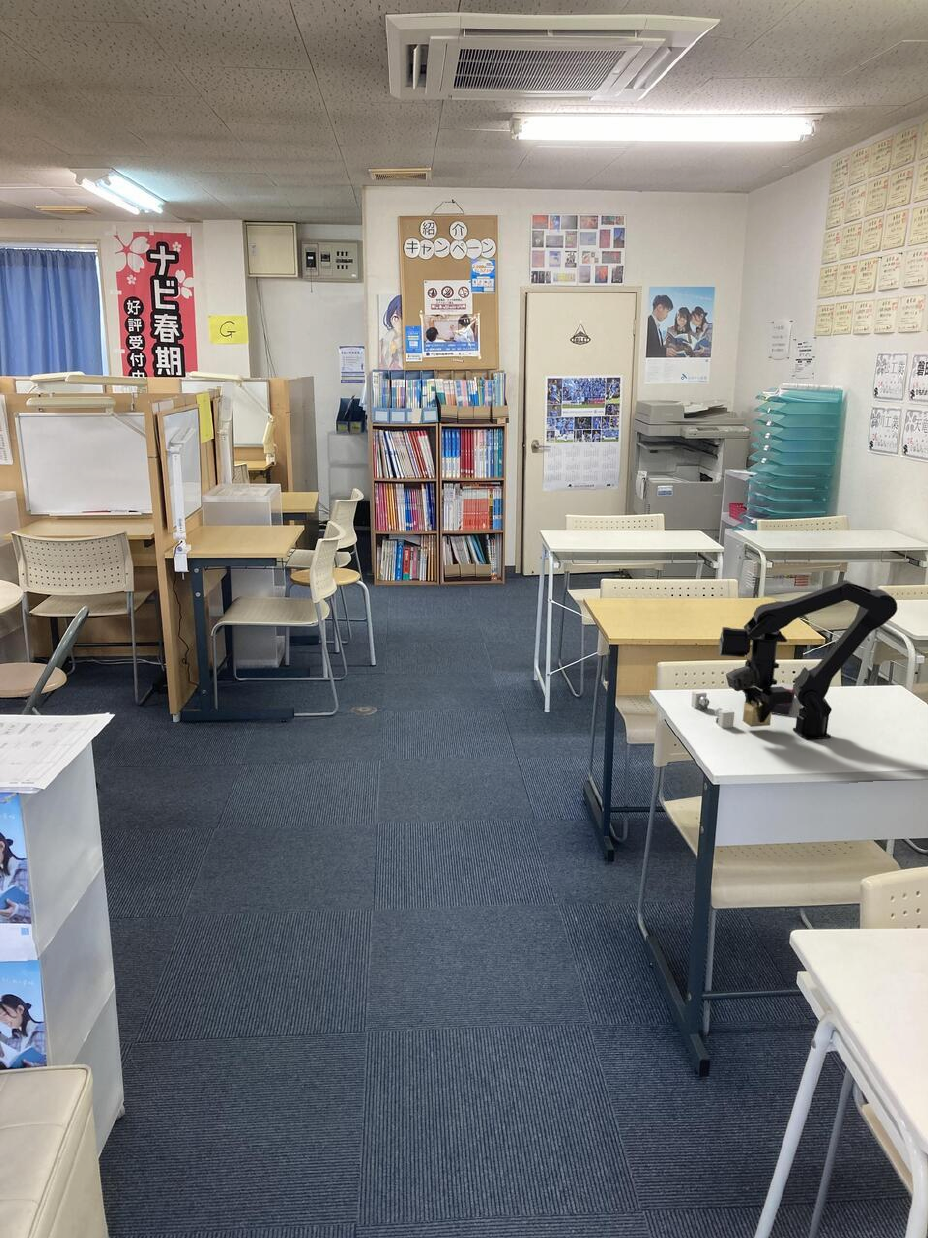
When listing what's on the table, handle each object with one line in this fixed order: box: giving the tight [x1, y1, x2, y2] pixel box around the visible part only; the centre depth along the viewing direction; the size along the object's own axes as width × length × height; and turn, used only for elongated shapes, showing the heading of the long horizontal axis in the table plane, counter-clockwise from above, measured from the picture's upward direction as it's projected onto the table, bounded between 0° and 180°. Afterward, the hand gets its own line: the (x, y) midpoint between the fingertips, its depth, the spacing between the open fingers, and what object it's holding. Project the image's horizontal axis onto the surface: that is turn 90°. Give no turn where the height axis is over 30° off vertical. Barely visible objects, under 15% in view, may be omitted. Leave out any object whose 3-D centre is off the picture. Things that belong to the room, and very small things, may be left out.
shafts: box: [697, 696, 724, 724], centre depth 233 cm, size 2×12×3 cm, turn 14°
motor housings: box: [691, 690, 735, 729], centre depth 233 cm, size 3×16×4 cm, turn 14°
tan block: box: [742, 700, 772, 728], centre depth 224 cm, size 4×5×6 cm
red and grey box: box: [744, 682, 796, 716], centre depth 244 cm, size 11×4×15 cm
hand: (756, 719), depth 224 cm, fingers closed on tan block, 4 cm apart
